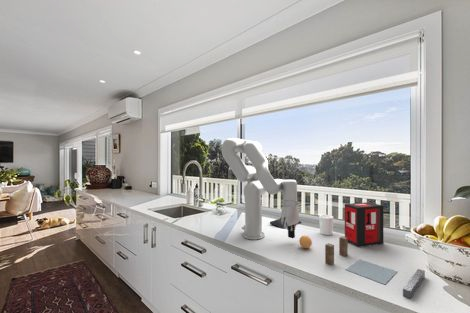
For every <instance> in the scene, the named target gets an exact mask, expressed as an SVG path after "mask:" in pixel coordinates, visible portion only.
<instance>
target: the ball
mask: <svg viewBox="0 0 470 313" xmlns="http://www.w3.org/2000/svg"><path fill="white" fill-rule="evenodd" d="M298 242H299V245H300V246H301V248H303V249H309V248H310V247H312V245H313V241H312V239H311V237H309V236H308V235H302V236H301V237H300V238H299V240H298Z"/></svg>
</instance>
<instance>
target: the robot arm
mask: <svg viewBox="0 0 470 313" xmlns="http://www.w3.org/2000/svg"><path fill="white" fill-rule="evenodd" d="M220 151H221V155H222V157H223V159H224V161H225V162H226V164H227V165H228V166H229V168H230V169H231V171H232V173H233V174H234V176H235V177H236V179H237V180H238V181H239V182H240V183H245V182H247V183H246V184H245V185H244V187H243V196H244V212H245V215H244V224H243V226H241V230H243V232H242V237H243V238H244V239H245V240H246V239H247V240H256V241H257V240H261V239H264V238H265V233H264V231H262V230H263V229H262V226H263V224H262V222H263V220H262V217H263V216H262V212H263V211H262V209H263V208H262V199H261V196H262V195H264V194H265V193H268V194H269V195H276V194H278V193H282V206H281V217H280V218H281V222H282V224H283V225H284V228H287V229H286V230H287V237H288V238H289V239H294V238H296V234H295V233H296V227H297V224H298V222H299V221H300V213H299V204H298V182H297V180H296V179H281V178H274V177H273V175H272V174H271V172H270V170H269V160H268V159H267V157H266V156H265V155H264V153H263V152H262V151H263V147H262V145H261V142H259V141H253V140H248V139H242V138H236V137H230V138H227V139H225V140H224V141H223V142H222V145H221V150H220ZM238 153H240V154H245V155H246V156H245V157H247V159H248V161H250V163H251V164H252V165H250V164H249V165H246V164H245V163H244V161H243V159H242V158H241V157H240V156H239V155H238ZM298 225H299V224H298Z"/></svg>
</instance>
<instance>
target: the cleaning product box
mask: <svg viewBox="0 0 470 313" xmlns="http://www.w3.org/2000/svg"><path fill="white" fill-rule="evenodd" d="M344 237H347V238H348V244H350V245H353V246H354V247H357V248H362V246H363V247H370V246H374V245H375V246H376V244H377V245H383V244H384V205H381V204H377V203H374V202H371V201H369V202H355V203H353V202H352V203H344ZM369 245H370V246H369Z"/></svg>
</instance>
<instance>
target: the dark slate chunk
mask: <svg viewBox="0 0 470 313" xmlns="http://www.w3.org/2000/svg"><path fill="white" fill-rule="evenodd" d="M269 224H270V225H273V226H275V227H277V228H280V229H284V230H287V228H284V225H283V224H282V222H281V217H280V218H278V219H275V220H272V221H270V222H269ZM300 224H302V221H300V220H299V222H298V224H297V225H300ZM297 225H296V226H297Z"/></svg>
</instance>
